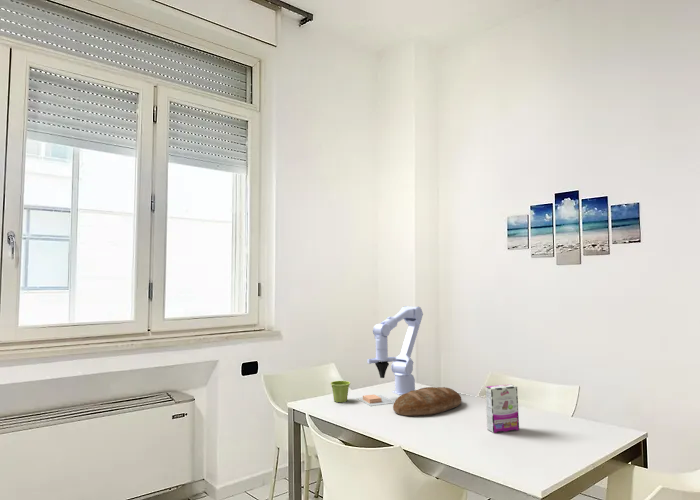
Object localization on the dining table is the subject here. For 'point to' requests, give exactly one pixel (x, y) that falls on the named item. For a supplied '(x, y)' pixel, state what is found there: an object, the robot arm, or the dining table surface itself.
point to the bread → (427, 401)
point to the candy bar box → (502, 408)
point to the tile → (372, 399)
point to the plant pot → (340, 390)
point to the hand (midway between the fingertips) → (382, 377)
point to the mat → (384, 401)
